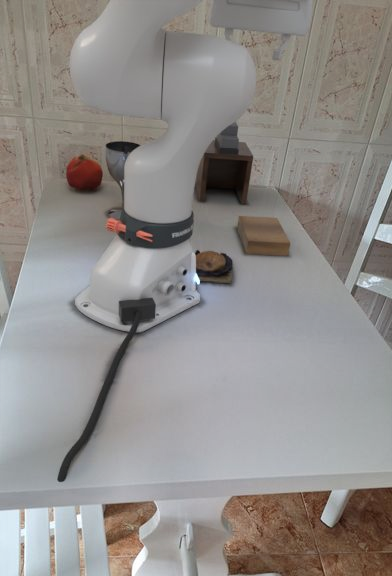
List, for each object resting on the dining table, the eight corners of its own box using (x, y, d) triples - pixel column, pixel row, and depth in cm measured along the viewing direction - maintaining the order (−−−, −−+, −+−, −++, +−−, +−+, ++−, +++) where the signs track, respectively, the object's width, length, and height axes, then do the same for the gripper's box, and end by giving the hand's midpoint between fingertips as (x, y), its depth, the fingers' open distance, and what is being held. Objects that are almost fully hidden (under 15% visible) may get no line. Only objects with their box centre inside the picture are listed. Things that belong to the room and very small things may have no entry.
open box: (245, 204, 125) (253, 156, 118) (199, 201, 124) (204, 152, 116) (238, 187, 134) (245, 142, 127) (195, 185, 133) (199, 138, 126)
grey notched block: (214, 141, 125) (217, 118, 121) (232, 143, 125) (235, 119, 122) (219, 153, 117) (222, 128, 113) (238, 154, 117) (241, 130, 114)
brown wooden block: (287, 255, 103) (290, 242, 101) (246, 253, 102) (248, 240, 100) (274, 230, 114) (277, 217, 112) (236, 228, 112) (238, 215, 111)
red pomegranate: (96, 181, 128) (95, 149, 123) (109, 193, 122) (108, 160, 117) (61, 184, 124) (58, 151, 119) (73, 197, 118) (71, 163, 113)
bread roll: (233, 285, 91) (236, 268, 89) (188, 281, 91) (190, 263, 89) (231, 259, 100) (233, 242, 97) (189, 255, 99) (191, 238, 97)
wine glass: (104, 208, 115) (102, 141, 105) (137, 207, 117) (138, 141, 108) (109, 221, 109) (108, 152, 100) (144, 220, 111) (146, 152, 102)
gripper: (213, -34, 89) (205, 54, 97) (321, -21, 91) (305, 64, 99) (209, -33, 93) (202, 50, 102) (312, -21, 96) (297, 60, 104)
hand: (254, 57), depth 101 cm, fingers open, 8 cm apart
